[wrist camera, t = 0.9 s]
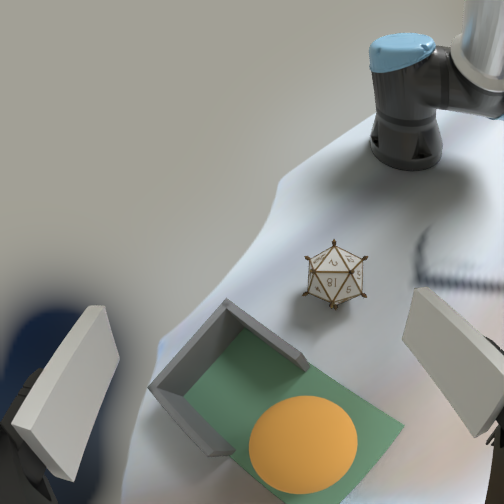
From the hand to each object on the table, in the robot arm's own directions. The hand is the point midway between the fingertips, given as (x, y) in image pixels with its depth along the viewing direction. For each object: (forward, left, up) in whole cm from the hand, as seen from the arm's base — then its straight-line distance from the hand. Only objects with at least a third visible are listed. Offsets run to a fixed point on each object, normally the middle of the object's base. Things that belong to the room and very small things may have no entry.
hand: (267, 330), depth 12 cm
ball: (+5, +2, -21) cm, 22 cm away
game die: (-13, -8, -27) cm, 31 cm away
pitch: (+5, -4, -27) cm, 28 cm away
